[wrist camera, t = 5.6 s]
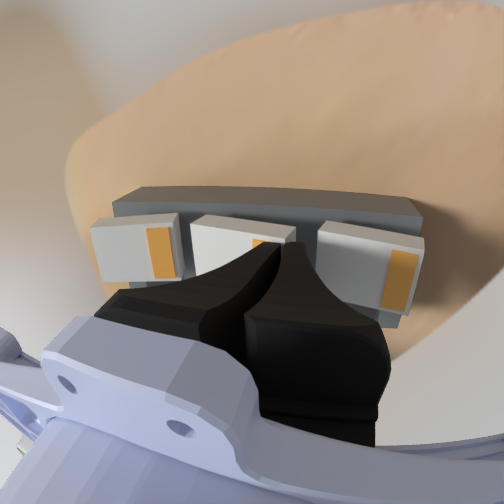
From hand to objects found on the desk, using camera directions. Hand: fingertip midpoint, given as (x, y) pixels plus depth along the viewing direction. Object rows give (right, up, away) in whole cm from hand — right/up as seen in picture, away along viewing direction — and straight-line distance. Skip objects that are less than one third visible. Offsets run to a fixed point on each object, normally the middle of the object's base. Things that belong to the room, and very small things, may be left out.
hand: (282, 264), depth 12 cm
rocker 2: (-2, 0, +1) cm, 2 cm away
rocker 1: (-6, +1, +2) cm, 7 cm away
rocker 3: (+3, 0, 0) cm, 3 cm away
